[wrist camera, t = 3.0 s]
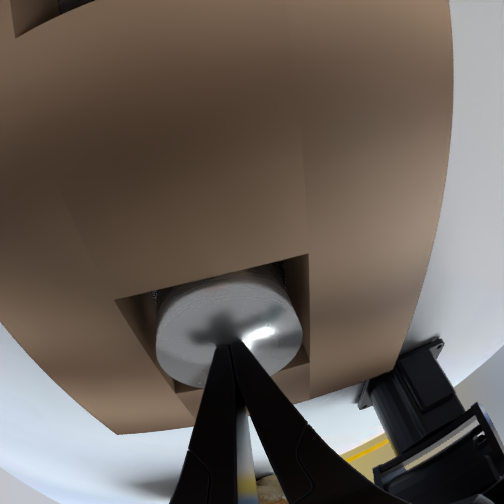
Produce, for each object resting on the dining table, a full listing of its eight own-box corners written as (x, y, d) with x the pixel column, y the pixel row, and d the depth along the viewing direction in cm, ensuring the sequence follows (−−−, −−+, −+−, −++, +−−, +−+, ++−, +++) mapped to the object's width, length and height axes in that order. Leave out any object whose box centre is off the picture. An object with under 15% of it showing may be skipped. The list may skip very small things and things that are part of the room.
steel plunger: (280, 308, 13) (303, 370, 10) (178, 332, 13) (183, 398, 10) (269, 218, 10) (300, 280, 8) (140, 248, 10) (131, 320, 7)
